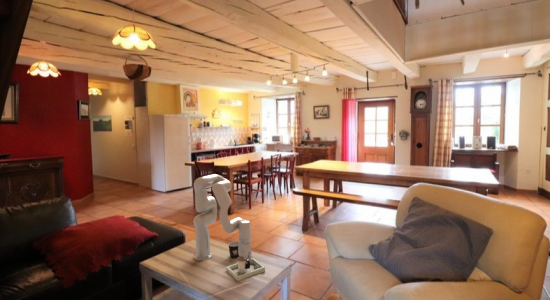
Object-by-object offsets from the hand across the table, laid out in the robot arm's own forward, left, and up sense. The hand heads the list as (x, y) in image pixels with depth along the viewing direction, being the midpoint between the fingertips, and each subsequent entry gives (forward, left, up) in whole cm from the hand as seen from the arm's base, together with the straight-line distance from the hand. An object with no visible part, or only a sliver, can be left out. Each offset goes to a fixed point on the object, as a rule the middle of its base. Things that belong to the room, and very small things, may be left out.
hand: (245, 266), depth 182 cm
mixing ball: (+4, +6, -3) cm, 8 cm away
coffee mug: (-20, +4, -4) cm, 21 cm away
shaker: (0, -2, -2) cm, 3 cm away
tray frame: (0, 0, -3) cm, 3 cm away
